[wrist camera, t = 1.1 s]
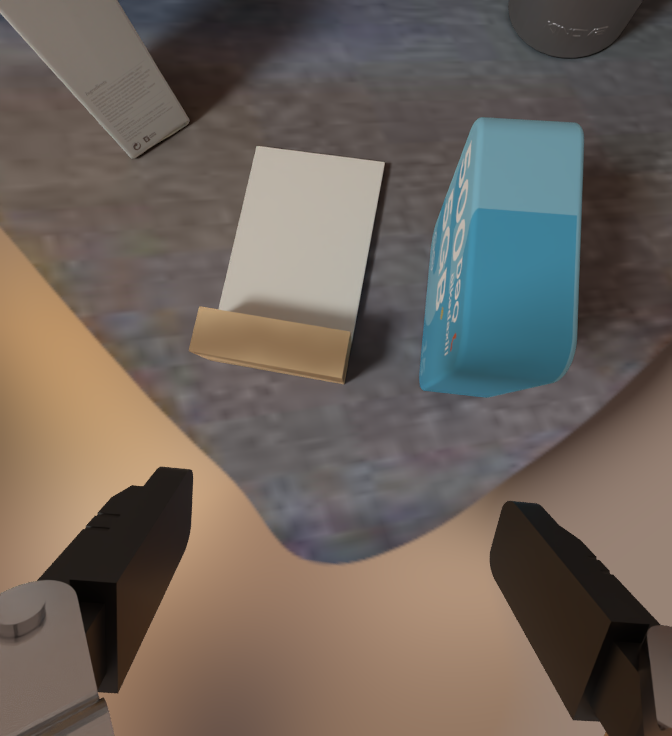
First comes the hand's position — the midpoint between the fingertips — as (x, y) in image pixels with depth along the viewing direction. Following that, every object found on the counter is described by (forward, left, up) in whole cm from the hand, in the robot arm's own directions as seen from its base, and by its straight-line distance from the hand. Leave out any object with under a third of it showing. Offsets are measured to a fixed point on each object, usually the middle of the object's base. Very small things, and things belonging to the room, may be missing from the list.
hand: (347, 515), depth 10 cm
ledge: (-6, -7, -17) cm, 19 cm away
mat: (-15, -7, -17) cm, 24 cm away
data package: (-11, +5, -17) cm, 21 cm away
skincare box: (-24, -23, -17) cm, 38 cm away
